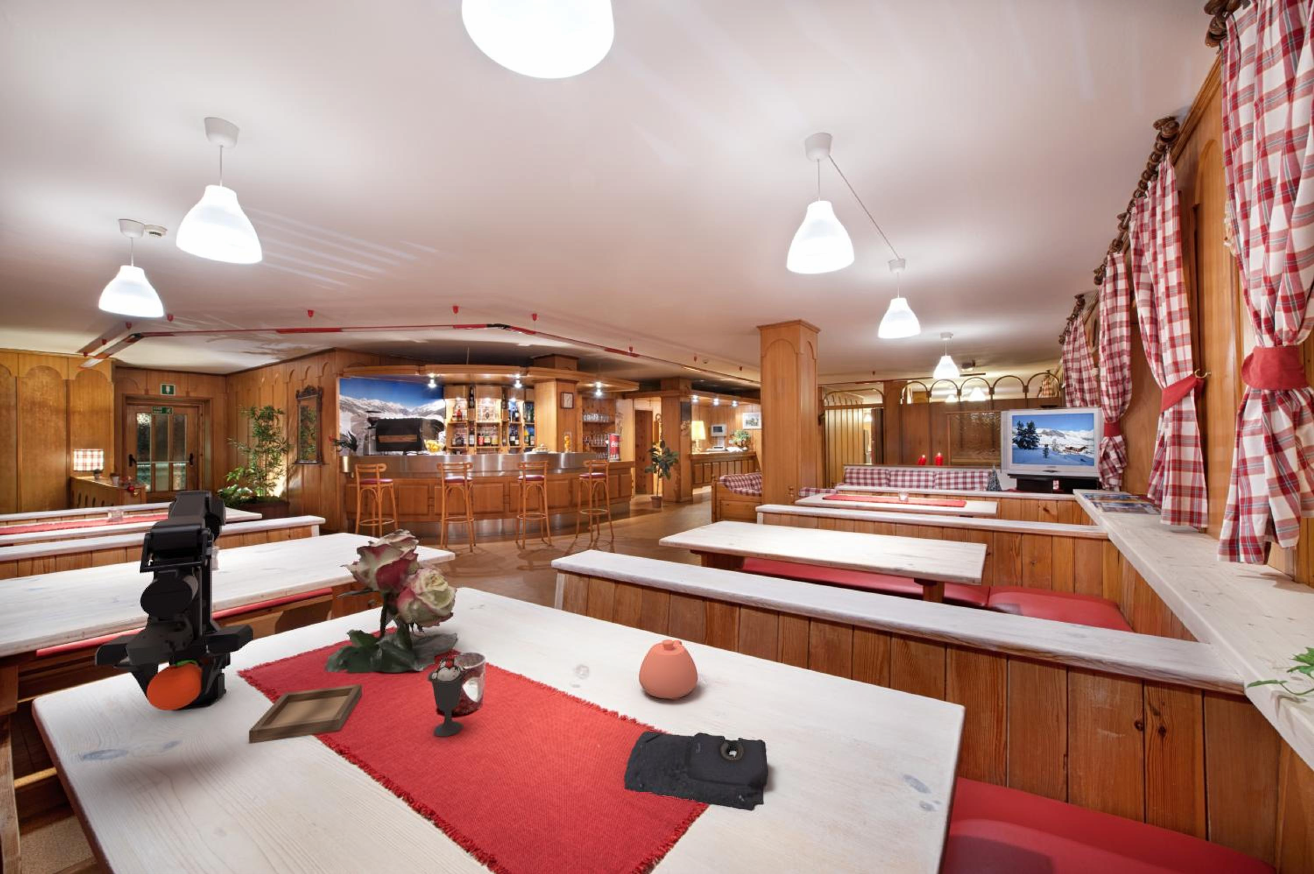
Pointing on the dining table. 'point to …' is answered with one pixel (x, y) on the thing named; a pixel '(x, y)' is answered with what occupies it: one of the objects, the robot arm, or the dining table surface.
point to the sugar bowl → (668, 670)
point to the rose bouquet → (397, 609)
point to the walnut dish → (306, 713)
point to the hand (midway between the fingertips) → (178, 696)
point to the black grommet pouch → (699, 768)
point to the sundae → (447, 692)
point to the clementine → (175, 686)
